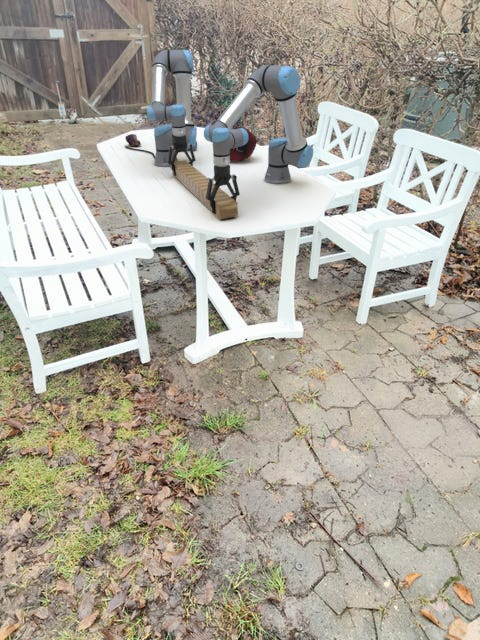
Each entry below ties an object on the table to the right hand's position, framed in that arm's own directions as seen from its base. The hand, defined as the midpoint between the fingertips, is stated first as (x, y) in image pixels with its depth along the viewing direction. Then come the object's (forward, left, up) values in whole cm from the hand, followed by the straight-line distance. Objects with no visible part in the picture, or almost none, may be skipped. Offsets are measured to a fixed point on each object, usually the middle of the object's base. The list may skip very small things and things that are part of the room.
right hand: (223, 211), depth 219 cm
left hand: (-44, -49, 0) cm, 66 cm away
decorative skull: (-93, -35, -2) cm, 100 cm away
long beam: (-22, -24, -1) cm, 33 cm away
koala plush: (-104, -83, -2) cm, 134 cm away
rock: (-96, -123, -2) cm, 156 cm away
